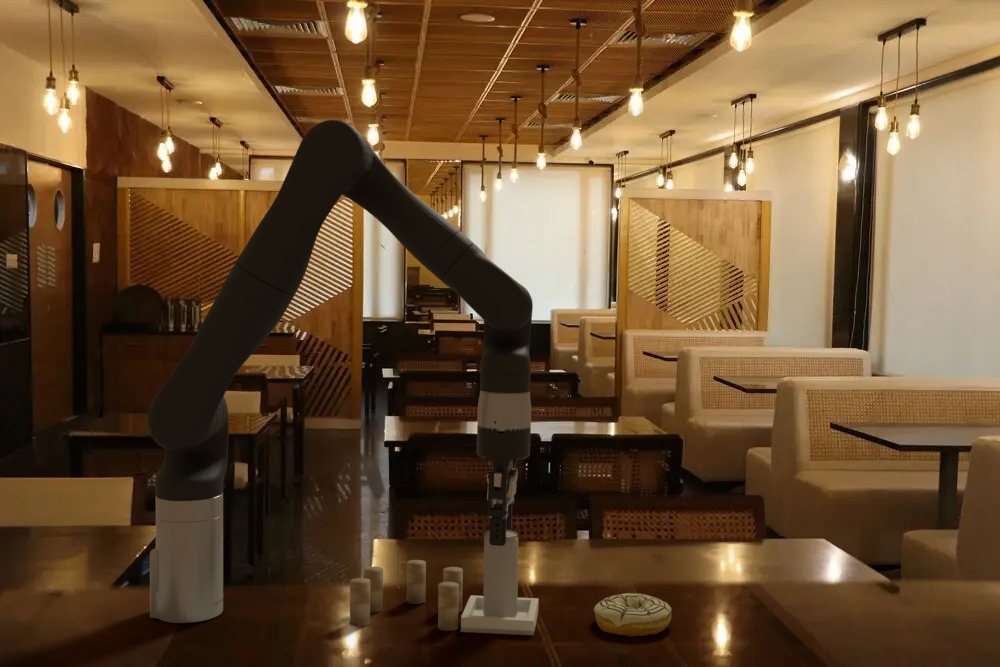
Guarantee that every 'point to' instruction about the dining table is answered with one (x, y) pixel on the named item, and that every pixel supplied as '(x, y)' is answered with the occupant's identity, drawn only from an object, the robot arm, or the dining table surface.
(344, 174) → the robot arm
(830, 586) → the dining table surface
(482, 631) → the parts tray
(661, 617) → the decorated donut
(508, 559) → the beverage can
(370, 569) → the posts
